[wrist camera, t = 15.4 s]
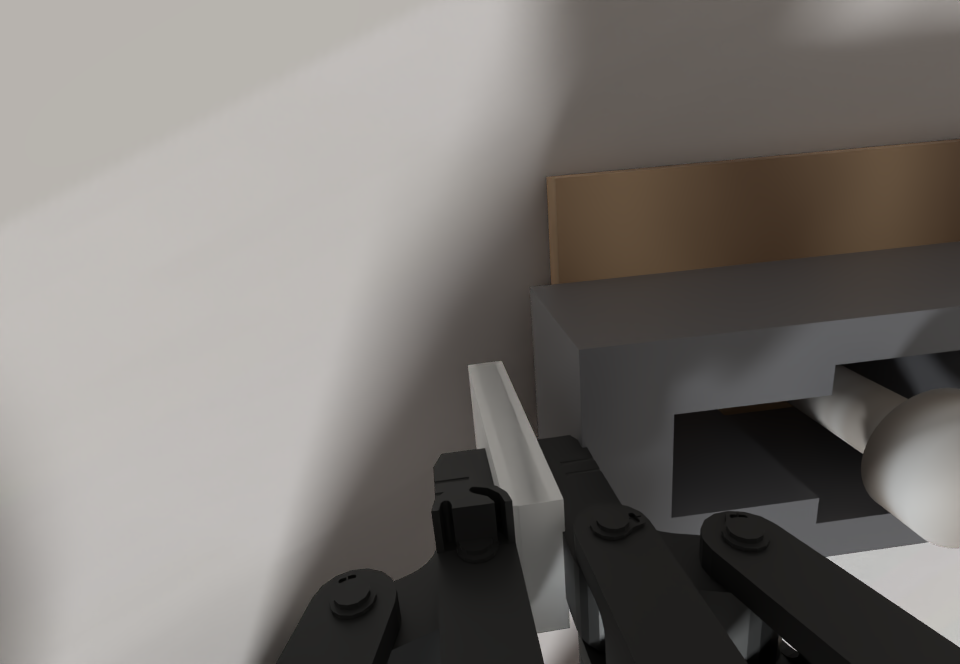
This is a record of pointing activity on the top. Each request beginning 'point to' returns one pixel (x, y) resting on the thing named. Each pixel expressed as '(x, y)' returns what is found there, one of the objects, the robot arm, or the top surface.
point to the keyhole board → (782, 236)
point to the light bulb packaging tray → (744, 382)
